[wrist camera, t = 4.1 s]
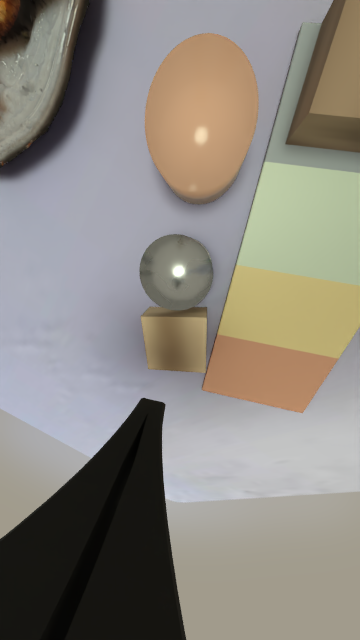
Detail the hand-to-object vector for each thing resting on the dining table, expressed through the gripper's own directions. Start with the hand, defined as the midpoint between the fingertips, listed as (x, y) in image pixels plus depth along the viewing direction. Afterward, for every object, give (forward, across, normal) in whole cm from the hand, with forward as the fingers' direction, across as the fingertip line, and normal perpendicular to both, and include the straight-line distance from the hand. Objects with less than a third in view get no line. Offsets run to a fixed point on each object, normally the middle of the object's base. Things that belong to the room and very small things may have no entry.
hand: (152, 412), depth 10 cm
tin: (+10, 0, -7) cm, 12 cm away
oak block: (+10, 0, 0) cm, 10 cm away
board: (+10, -10, -7) cm, 16 cm away
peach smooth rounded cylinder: (+10, 0, -15) cm, 18 cm away
